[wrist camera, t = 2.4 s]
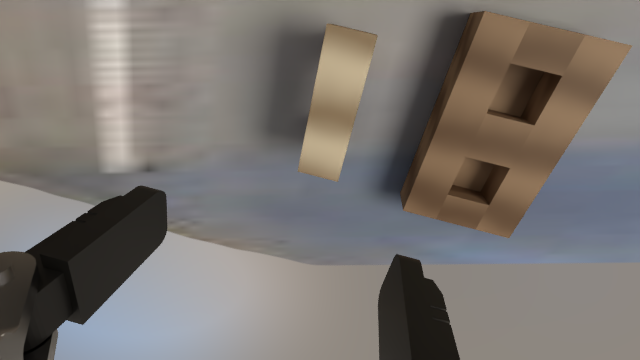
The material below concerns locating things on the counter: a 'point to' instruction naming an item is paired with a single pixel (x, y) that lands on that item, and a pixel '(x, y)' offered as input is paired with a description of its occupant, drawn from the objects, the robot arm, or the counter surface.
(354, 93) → the beige wooden plank
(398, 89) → the counter surface
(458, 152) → the brown slotted wooden block
